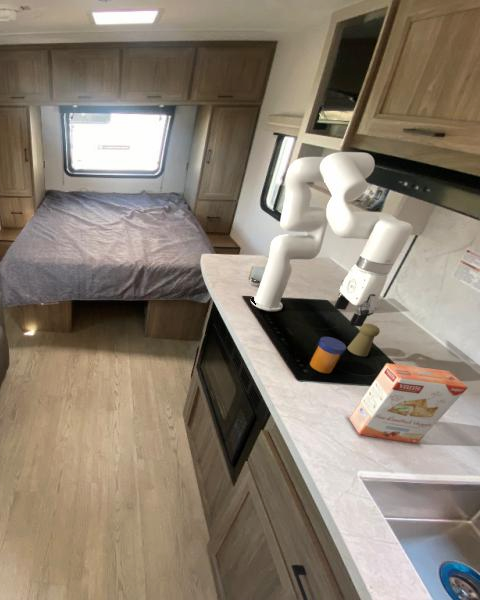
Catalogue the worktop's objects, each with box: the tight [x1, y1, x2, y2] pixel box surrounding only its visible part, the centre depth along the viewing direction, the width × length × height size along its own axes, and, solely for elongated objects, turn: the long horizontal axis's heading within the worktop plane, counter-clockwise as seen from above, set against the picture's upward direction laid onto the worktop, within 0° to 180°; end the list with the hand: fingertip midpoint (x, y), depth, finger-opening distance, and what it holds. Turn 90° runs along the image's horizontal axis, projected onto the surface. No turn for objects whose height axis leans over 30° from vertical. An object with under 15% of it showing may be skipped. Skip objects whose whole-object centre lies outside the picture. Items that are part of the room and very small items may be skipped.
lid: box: [317, 336, 347, 355], centre depth 105 cm, size 7×7×2 cm
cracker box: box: [348, 362, 468, 445], centre depth 83 cm, size 14×6×21 cm, turn 80°
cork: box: [346, 322, 381, 357], centre depth 115 cm, size 6×6×11 cm
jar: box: [309, 344, 342, 374], centre depth 107 cm, size 6×6×10 cm
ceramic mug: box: [248, 265, 266, 287], centre depth 161 cm, size 11×8×8 cm
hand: (346, 316), depth 100 cm, fingers open, 8 cm apart
